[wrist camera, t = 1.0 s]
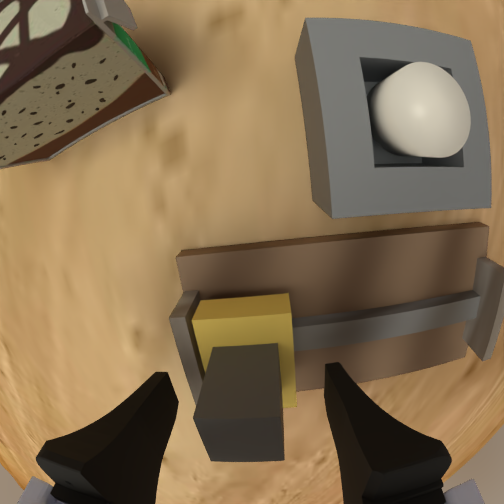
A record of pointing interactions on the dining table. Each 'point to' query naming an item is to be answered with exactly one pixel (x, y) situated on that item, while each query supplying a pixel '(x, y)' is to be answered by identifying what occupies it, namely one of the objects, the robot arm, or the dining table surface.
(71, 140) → the food container
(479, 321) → the rail
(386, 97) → the white egg
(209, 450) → the yellow and grey block
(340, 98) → the box
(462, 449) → the dining table surface
